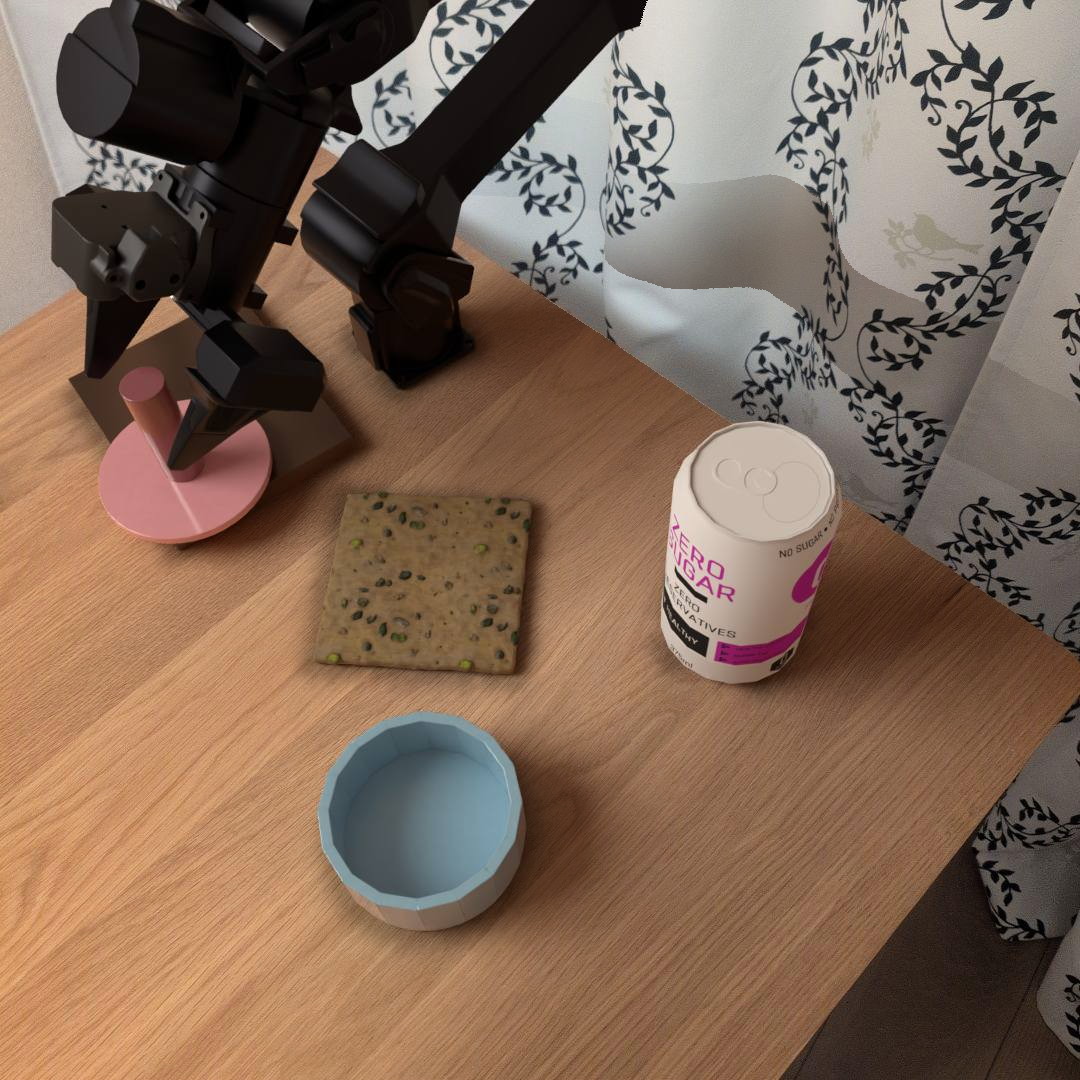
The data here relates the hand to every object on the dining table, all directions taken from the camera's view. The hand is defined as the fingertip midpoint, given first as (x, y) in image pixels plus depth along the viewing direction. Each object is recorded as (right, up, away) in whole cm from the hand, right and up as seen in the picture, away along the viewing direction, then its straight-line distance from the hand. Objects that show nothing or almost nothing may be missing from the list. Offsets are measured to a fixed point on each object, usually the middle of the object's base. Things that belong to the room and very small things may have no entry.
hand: (132, 422), depth 67 cm
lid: (+1, -3, +6) cm, 7 cm away
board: (+2, +1, +11) cm, 11 cm away
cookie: (+17, -9, +3) cm, 19 cm away
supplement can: (+35, -12, +1) cm, 37 cm away
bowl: (+18, -23, -5) cm, 29 cm away
